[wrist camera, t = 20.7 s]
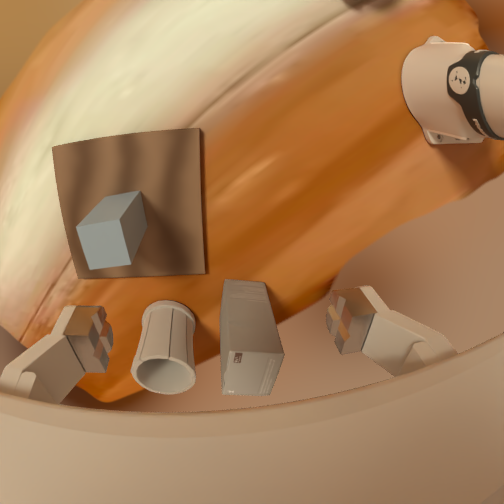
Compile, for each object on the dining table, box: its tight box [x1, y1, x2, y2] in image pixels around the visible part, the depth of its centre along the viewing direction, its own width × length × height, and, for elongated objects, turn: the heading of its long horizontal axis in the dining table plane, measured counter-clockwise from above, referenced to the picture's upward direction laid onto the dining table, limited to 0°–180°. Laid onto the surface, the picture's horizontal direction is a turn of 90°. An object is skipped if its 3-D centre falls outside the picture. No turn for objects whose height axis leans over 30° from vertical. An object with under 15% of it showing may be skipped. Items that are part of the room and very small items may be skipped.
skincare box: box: [220, 279, 285, 396], centre depth 39 cm, size 8×7×16 cm
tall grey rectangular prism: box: [76, 191, 148, 270], centre depth 31 cm, size 5×5×10 cm
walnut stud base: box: [52, 128, 205, 279], centre depth 33 cm, size 20×20×7 cm
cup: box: [131, 300, 196, 394], centre depth 41 cm, size 10×9×12 cm
